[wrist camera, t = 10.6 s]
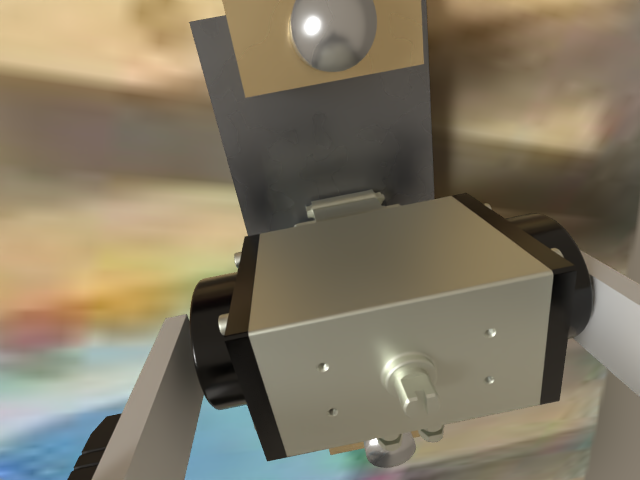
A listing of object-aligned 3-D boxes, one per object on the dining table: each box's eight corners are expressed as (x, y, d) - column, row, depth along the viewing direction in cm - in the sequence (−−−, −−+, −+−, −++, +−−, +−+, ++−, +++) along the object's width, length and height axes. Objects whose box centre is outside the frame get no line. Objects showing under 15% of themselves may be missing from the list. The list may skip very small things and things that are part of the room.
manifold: (432, 343, 26) (491, 449, 19) (290, 372, 26) (294, 491, 19) (413, -15, 17) (512, -75, 10) (196, 25, 17) (135, -6, 10)
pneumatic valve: (224, 203, 19) (150, 385, 8) (452, 159, 19) (678, 278, 8) (251, 295, 21) (222, 531, 10) (454, 254, 21) (633, 445, 11)
